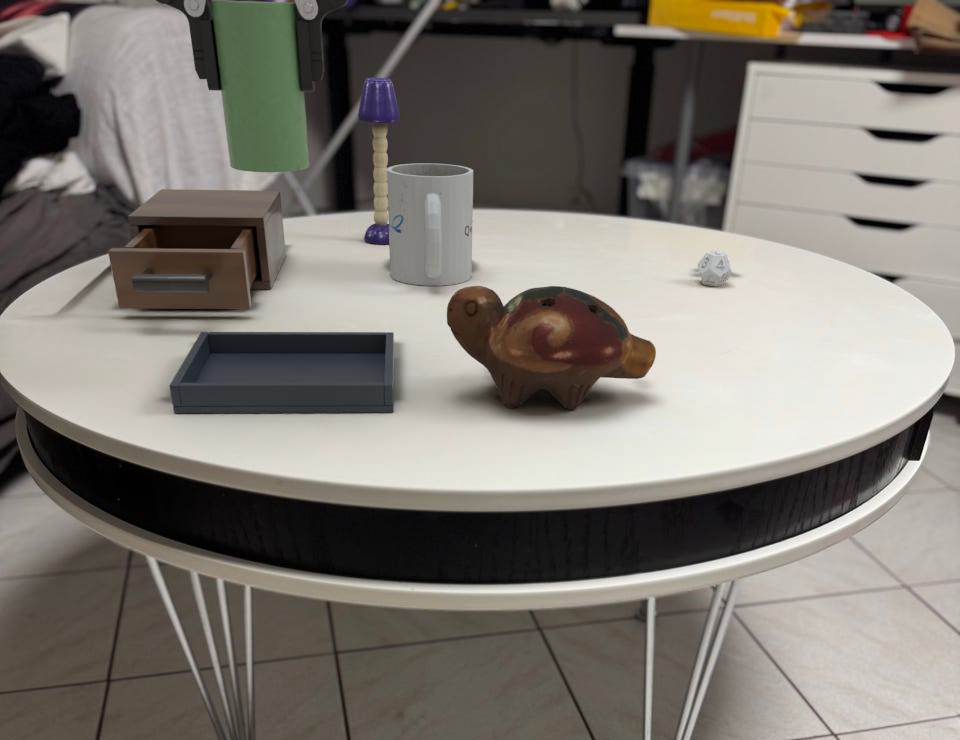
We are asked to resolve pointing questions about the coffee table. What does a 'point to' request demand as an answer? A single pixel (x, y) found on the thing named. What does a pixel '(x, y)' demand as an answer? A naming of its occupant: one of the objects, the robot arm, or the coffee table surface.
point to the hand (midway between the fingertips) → (262, 88)
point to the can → (261, 85)
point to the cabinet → (222, 219)
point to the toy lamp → (379, 148)
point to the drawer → (187, 267)
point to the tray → (286, 373)
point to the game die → (714, 268)
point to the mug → (430, 223)
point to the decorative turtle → (546, 341)
